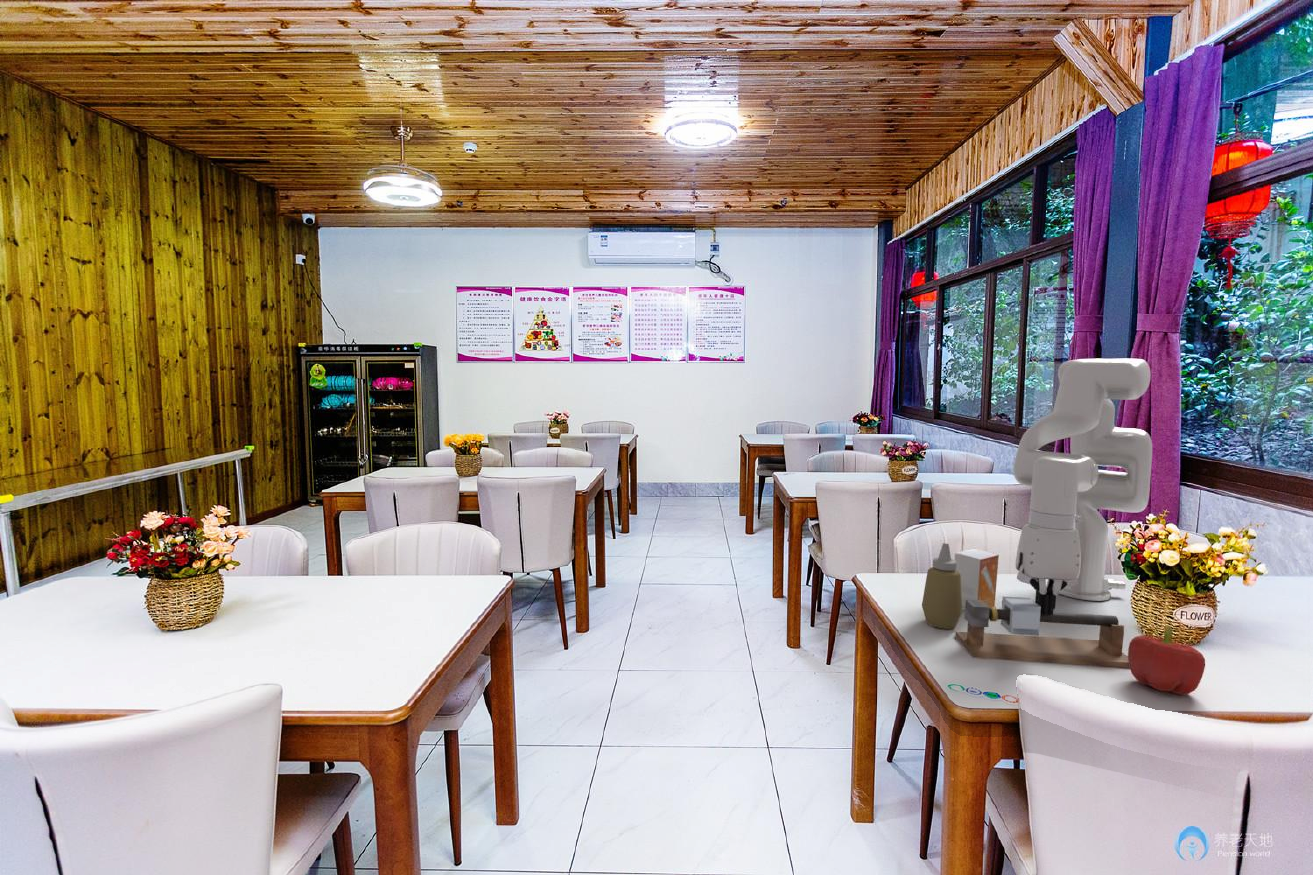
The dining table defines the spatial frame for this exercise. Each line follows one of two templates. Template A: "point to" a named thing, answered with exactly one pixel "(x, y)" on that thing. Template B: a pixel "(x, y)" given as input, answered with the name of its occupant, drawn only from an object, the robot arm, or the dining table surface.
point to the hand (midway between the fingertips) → (1044, 611)
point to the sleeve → (1021, 616)
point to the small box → (977, 575)
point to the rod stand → (1043, 639)
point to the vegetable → (1165, 663)
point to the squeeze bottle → (943, 592)
